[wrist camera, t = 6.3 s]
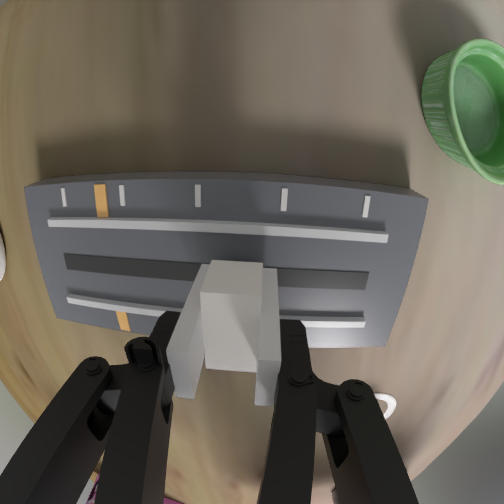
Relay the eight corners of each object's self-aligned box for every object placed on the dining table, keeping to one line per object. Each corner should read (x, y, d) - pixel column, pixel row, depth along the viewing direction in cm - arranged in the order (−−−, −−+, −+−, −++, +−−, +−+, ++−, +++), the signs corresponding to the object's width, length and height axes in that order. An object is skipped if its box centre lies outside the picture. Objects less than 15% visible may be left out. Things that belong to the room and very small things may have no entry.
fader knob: (263, 242, 16) (262, 296, 11) (259, 308, 18) (256, 372, 13) (219, 240, 16) (199, 291, 11) (220, 306, 18) (205, 368, 13)
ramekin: (483, 190, 16) (520, 208, 12) (395, 133, 15) (430, 139, 11) (511, 93, 12) (548, 96, 8) (428, 25, 12) (462, 9, 8)
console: (410, 188, 17) (432, 201, 14) (375, 325, 21) (386, 350, 18) (45, 178, 17) (19, 188, 15) (70, 301, 22) (54, 321, 19)
